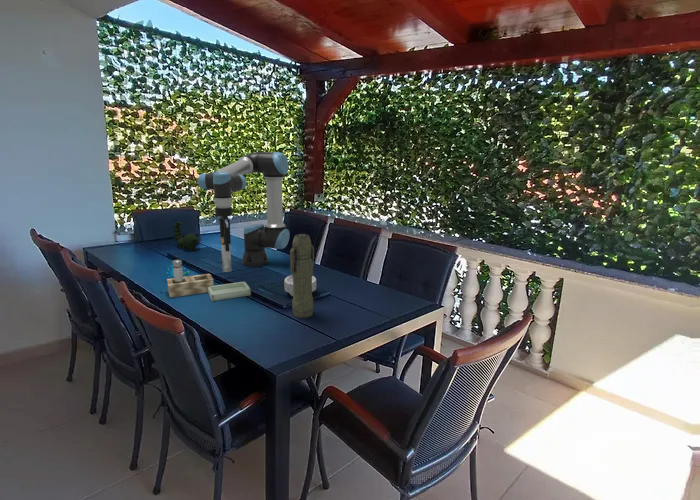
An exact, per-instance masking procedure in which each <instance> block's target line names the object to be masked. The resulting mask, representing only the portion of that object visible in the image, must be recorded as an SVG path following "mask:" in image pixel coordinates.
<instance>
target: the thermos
mask: <svg viewBox="0 0 700 500" xmlns="http://www.w3.org/2000/svg"><path fill="white" fill-rule="evenodd" d="M314 267H315V247H314V245H313V244H312V240H311V238H310V235H308V234H307V233H297V234H295V235H294V237H293V239H292V247H291V248H290V250H289V268H290V273H291V275H292V277H293V296H292V297H293V298H292V301H291V303H292V304H291V305H292V306H291V307H292V315H293V316H294V317H295V318H298V319H307V318H310V317H312V316H313V315H314V298H313V292H312V276H314Z"/></svg>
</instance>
